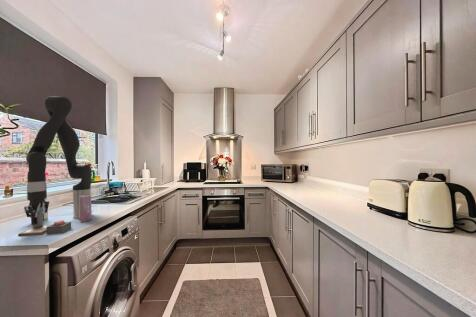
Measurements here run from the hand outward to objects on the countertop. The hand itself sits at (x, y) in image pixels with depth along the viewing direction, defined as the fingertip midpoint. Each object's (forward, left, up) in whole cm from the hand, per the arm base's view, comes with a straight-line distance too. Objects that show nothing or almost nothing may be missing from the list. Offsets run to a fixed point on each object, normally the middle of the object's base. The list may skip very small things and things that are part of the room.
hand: (37, 223), depth 114 cm
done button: (+5, +13, 0) cm, 14 cm away
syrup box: (-17, -11, -4) cm, 20 cm away
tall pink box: (-13, +16, -4) cm, 21 cm away
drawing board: (+3, +3, -3) cm, 5 cm away
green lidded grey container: (0, 0, -2) cm, 2 cm away
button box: (+5, +13, -3) cm, 15 cm away
